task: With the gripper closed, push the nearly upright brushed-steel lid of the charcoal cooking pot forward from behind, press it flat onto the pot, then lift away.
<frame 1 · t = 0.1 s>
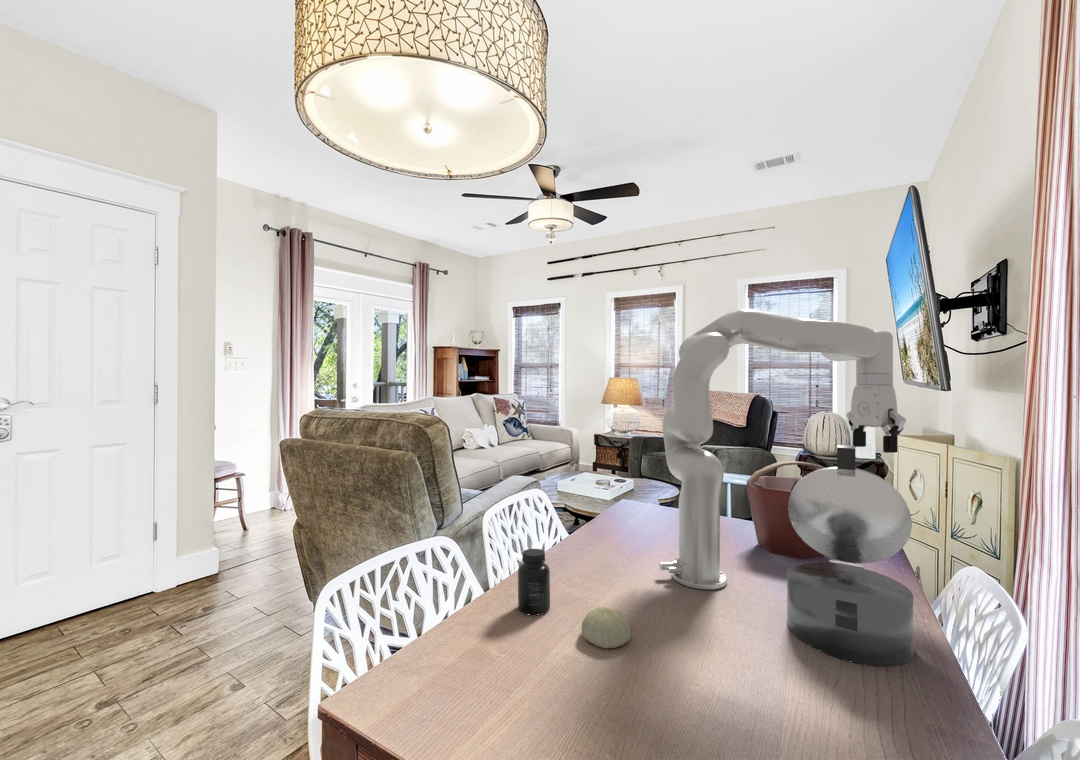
hand: (874, 449, 117), 31 cm above the table, tool pointing down, fingers open, 9 cm apart
sea urchin shell: (605, 639, 88), on the table
cooker lid: (846, 504, 95), point 23 cm above the table, hinge at 75.0°
bucket: (792, 549, 134), on the table
cooker pot: (846, 634, 89), on the table
supplement bottle: (534, 609, 99), on the table
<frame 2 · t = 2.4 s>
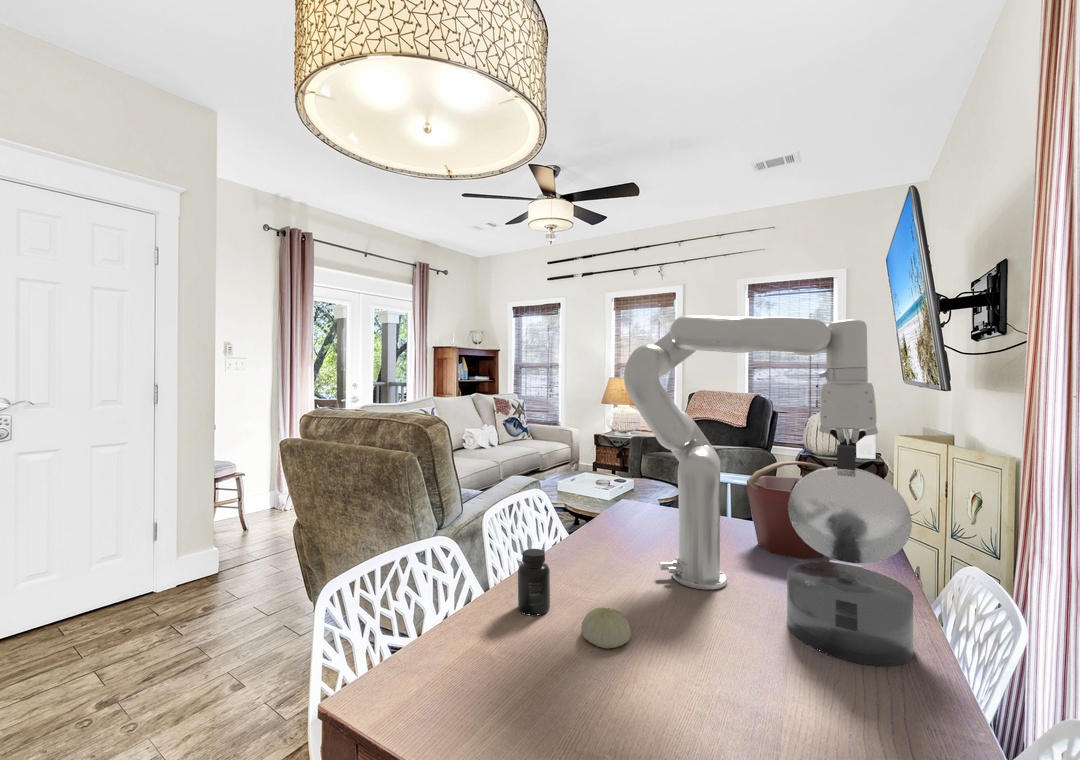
hand: (848, 460, 102), 31 cm above the table, tool pointing down, fingers closed
nothing on the table moved.
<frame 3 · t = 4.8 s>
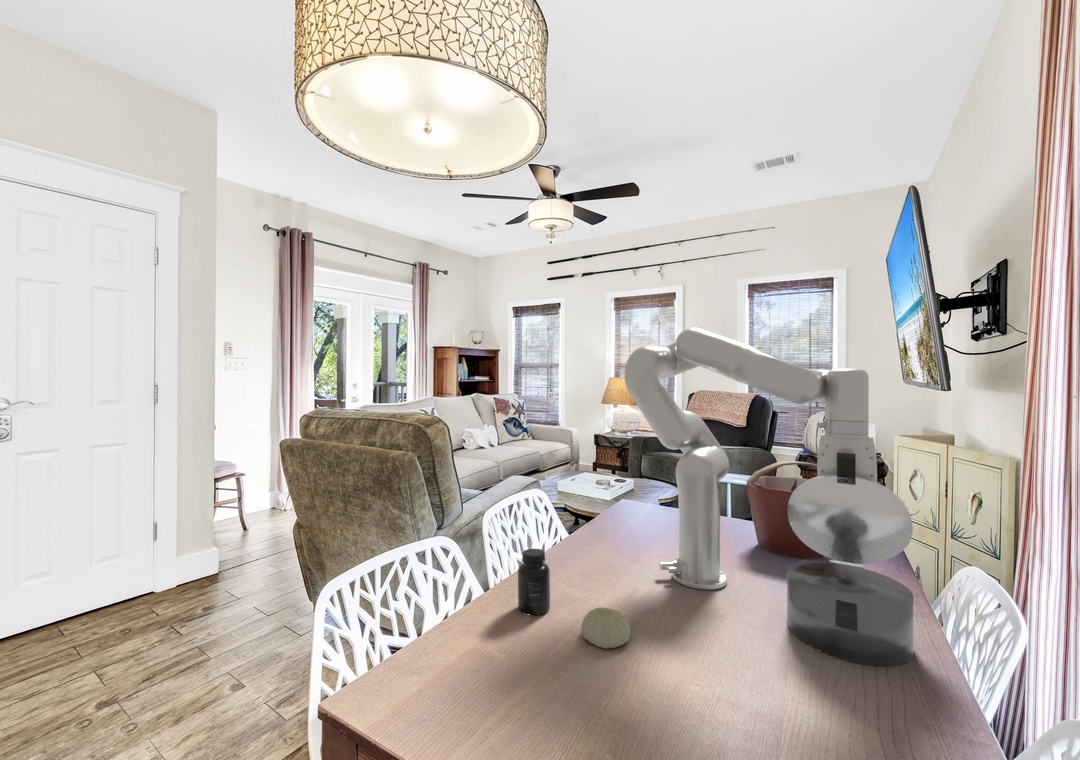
hand: (846, 517, 96), 20 cm above the table, tool pointing down, fingers closed
cooker lid: (846, 508, 94), point 23 cm above the table, hinge at 66.2°, touching gripper
everything else where it was.
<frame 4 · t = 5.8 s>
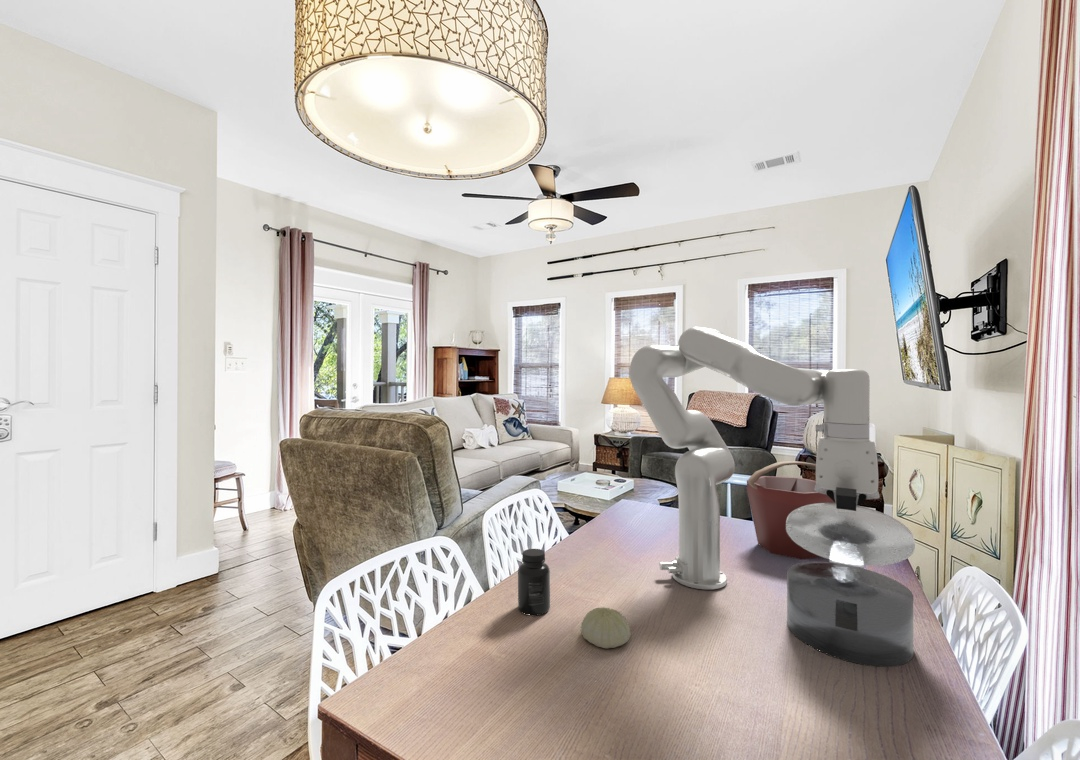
hand: (845, 524, 92), 20 cm above the table, tool pointing down, fingers closed
cooker lid: (846, 526, 90), point 20 cm above the table, hinge at 44.5°, touching gripper
everything else where it was.
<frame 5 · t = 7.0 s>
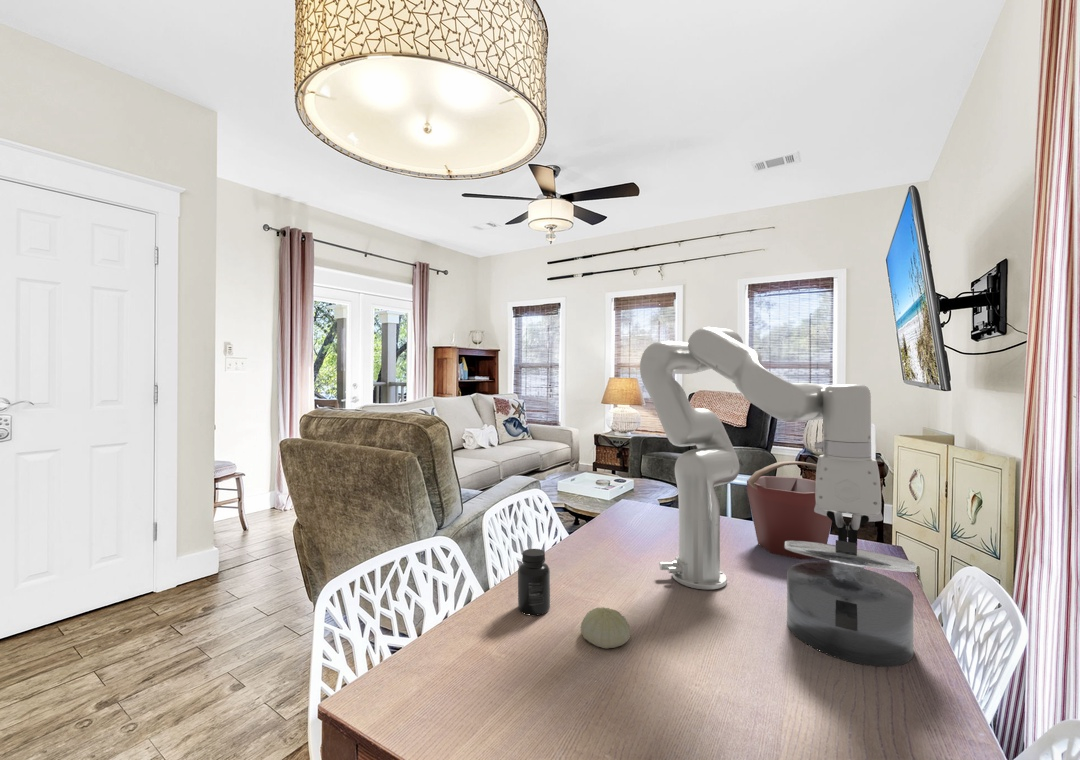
hand: (847, 548, 87), 17 cm above the table, tool pointing down, fingers closed
cooker lid: (846, 551, 88), point 16 cm above the table, hinge at 22.5°, touching gripper
everything else where it was.
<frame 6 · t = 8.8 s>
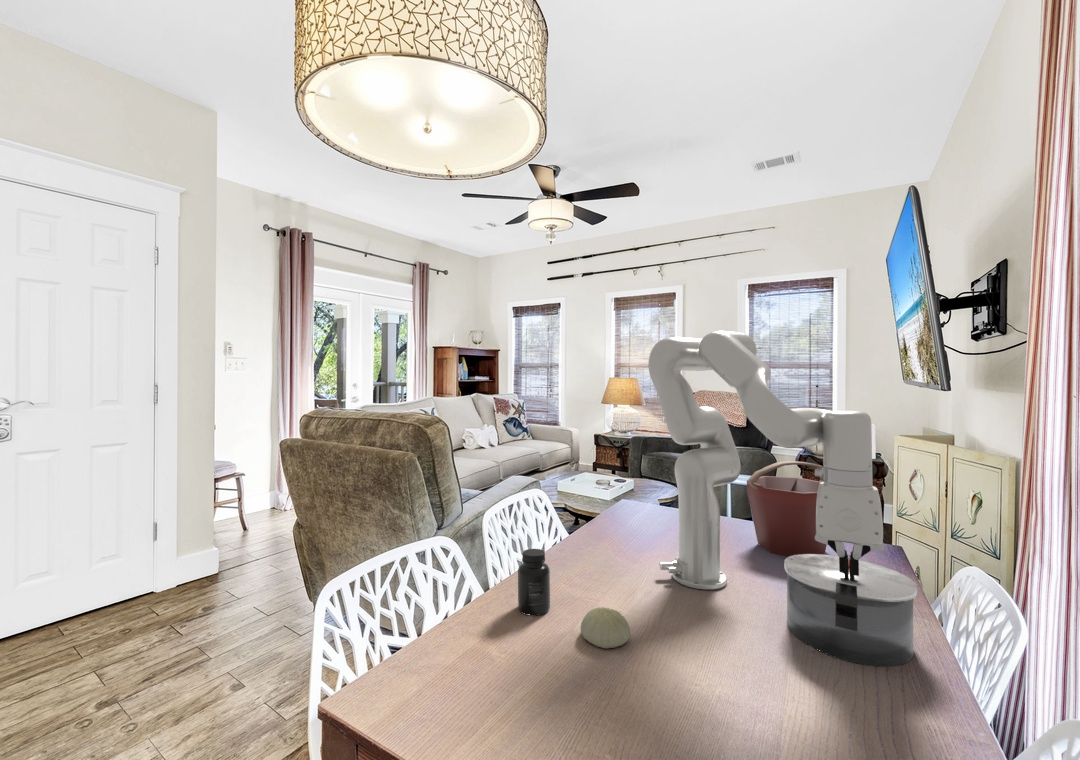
hand: (849, 577, 86), 12 cm above the table, tool pointing down, fingers closed
cooker lid: (846, 575, 87), point 12 cm above the table, hinge at 3.4°, touching gripper
everything else where it was.
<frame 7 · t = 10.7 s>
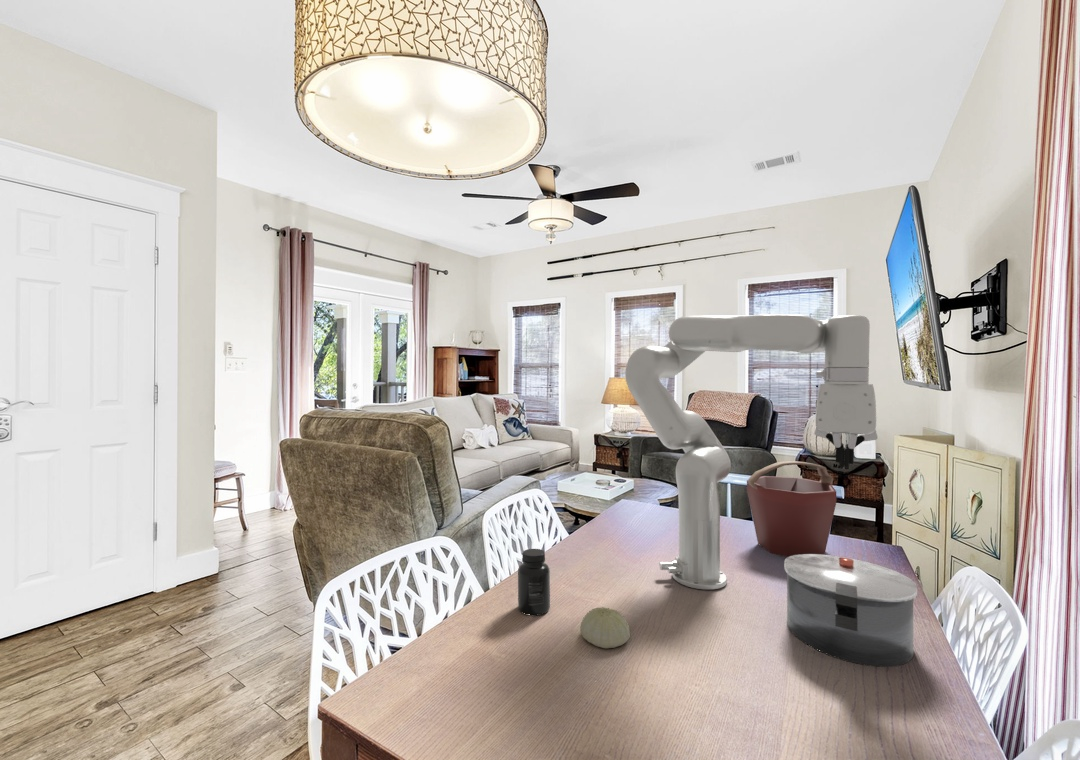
hand: (844, 466, 95), 31 cm above the table, tool pointing down, fingers closed
cooker lid: (846, 575, 87), point 12 cm above the table, hinge at 3.2°
everything else where it was.
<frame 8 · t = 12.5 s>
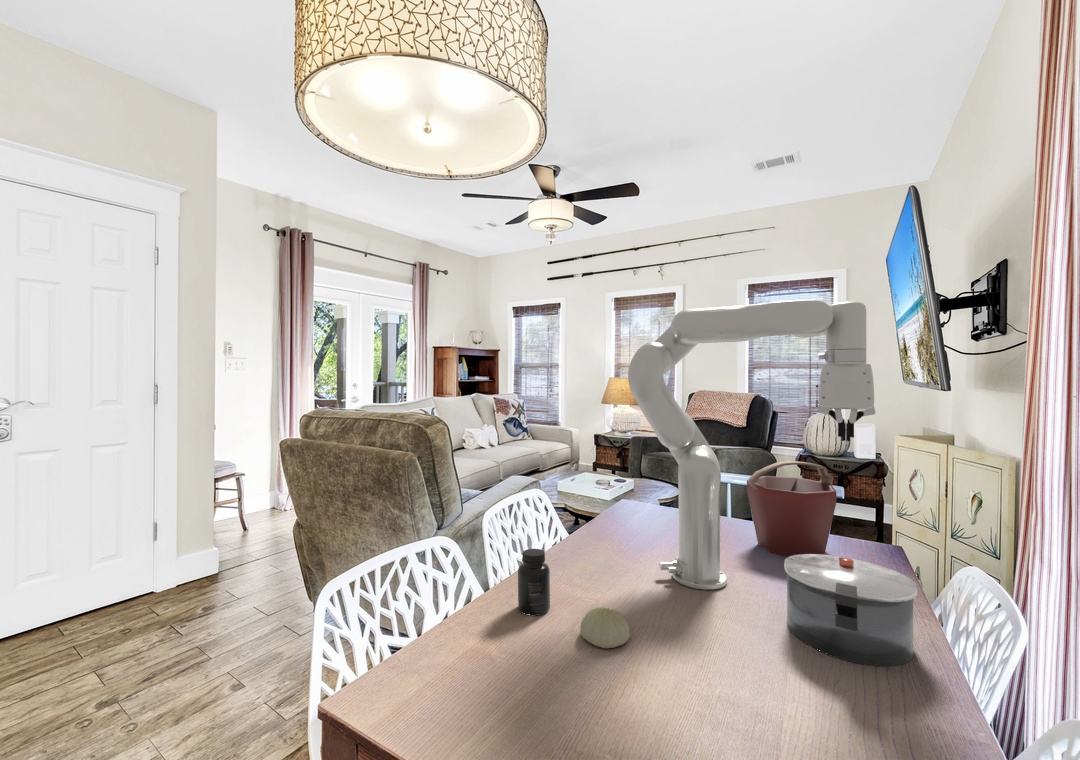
hand: (845, 440, 104), 35 cm above the table, tool pointing down, fingers closed
nothing on the table moved.
at the end: cooker lid at +3° (first picture: +75°); bucket moved 0.2 cm from its start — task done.
